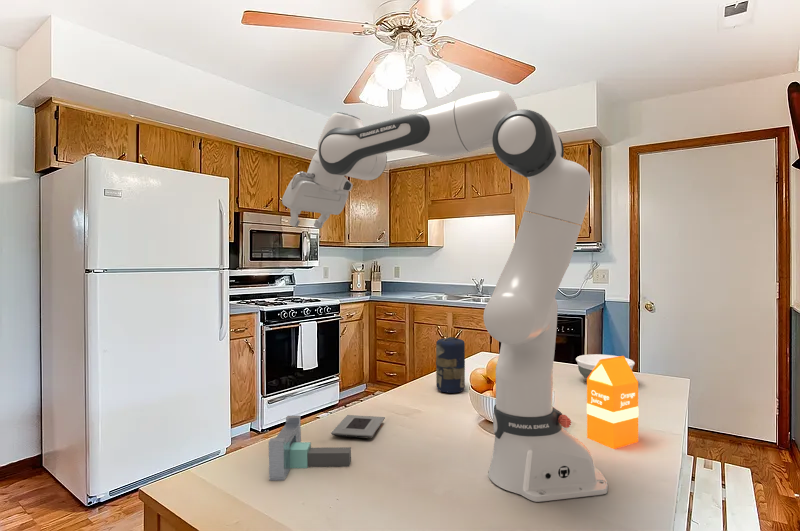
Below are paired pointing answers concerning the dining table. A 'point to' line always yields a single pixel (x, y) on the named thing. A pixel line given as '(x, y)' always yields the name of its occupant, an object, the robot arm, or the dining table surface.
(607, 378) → the orange juice
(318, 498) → the dining table surface
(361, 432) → the electrical outlet
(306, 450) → the plug
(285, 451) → the grey piece
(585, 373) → the bowl
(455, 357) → the canister
